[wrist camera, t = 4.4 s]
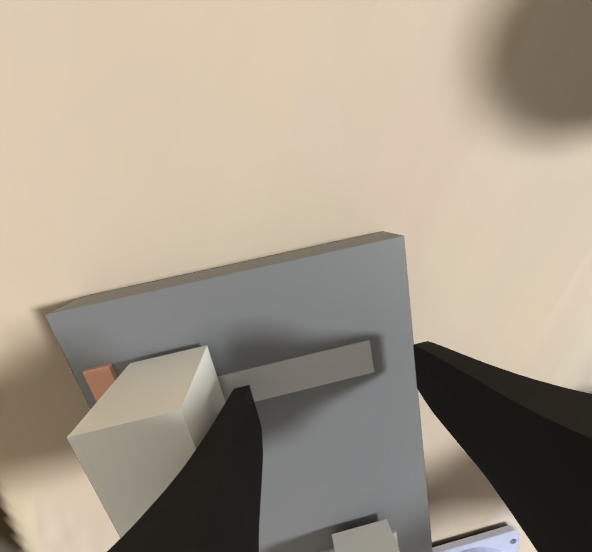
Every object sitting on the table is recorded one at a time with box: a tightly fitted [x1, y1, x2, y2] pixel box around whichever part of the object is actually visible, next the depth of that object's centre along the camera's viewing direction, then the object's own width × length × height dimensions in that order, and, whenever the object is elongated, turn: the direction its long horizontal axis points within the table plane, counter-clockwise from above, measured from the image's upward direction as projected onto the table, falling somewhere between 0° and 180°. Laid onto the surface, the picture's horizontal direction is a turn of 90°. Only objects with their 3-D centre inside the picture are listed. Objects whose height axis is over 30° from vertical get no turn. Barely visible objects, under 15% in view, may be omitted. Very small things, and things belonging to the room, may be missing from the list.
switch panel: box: [45, 231, 432, 552], centre depth 14 cm, size 22×14×2 cm, turn 11°
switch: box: [67, 345, 225, 538], centre depth 10 cm, size 5×3×4 cm, turn 11°
